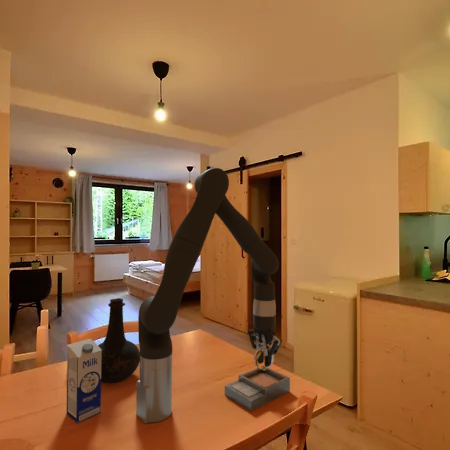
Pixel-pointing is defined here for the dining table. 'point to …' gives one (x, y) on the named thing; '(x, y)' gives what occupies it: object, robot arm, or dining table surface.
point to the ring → (258, 357)
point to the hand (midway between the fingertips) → (264, 364)
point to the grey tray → (257, 388)
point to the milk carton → (83, 380)
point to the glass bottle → (117, 348)
